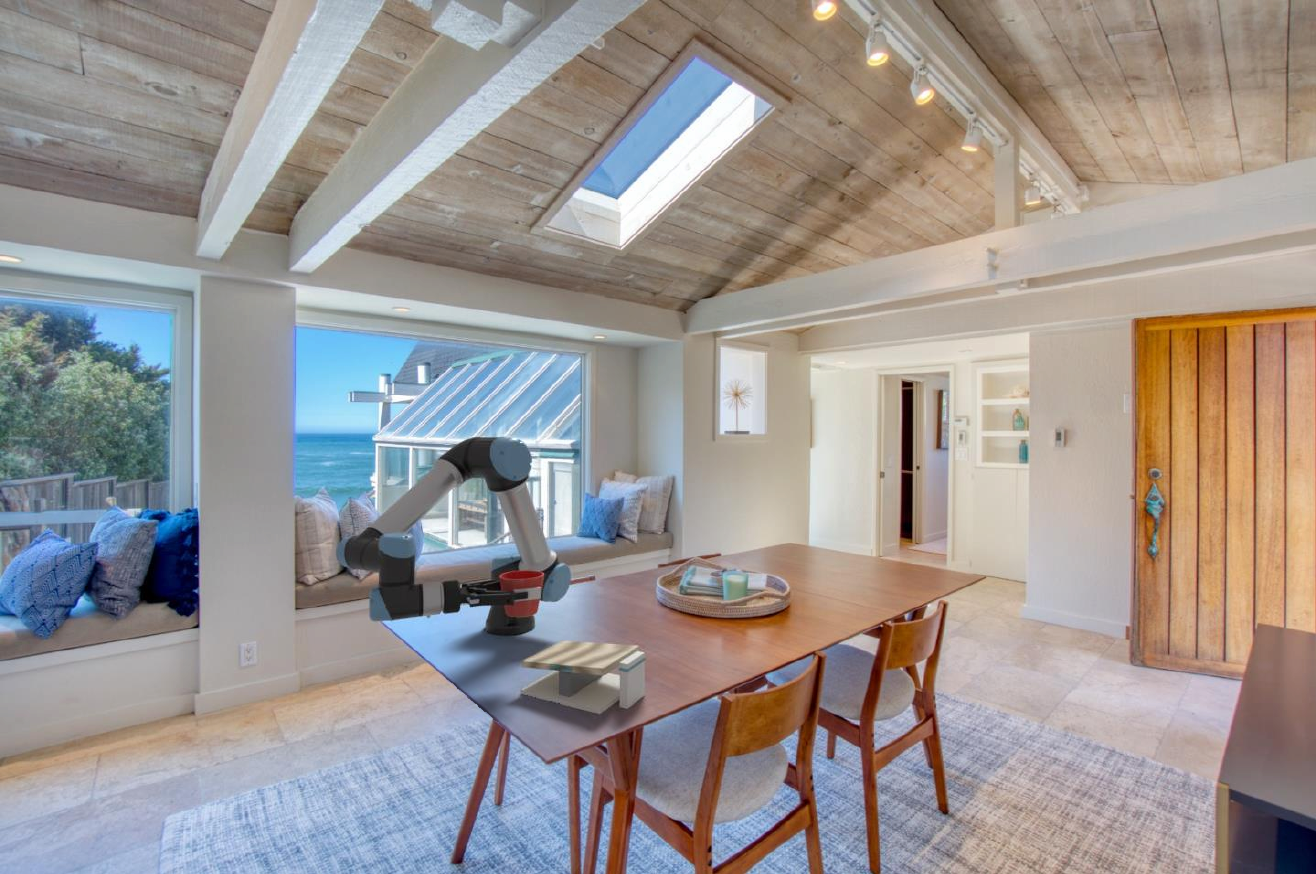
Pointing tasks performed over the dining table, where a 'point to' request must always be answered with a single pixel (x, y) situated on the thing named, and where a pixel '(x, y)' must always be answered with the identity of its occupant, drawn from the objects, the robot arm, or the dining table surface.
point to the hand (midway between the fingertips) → (534, 587)
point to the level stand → (593, 687)
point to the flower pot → (521, 581)
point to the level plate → (581, 657)
